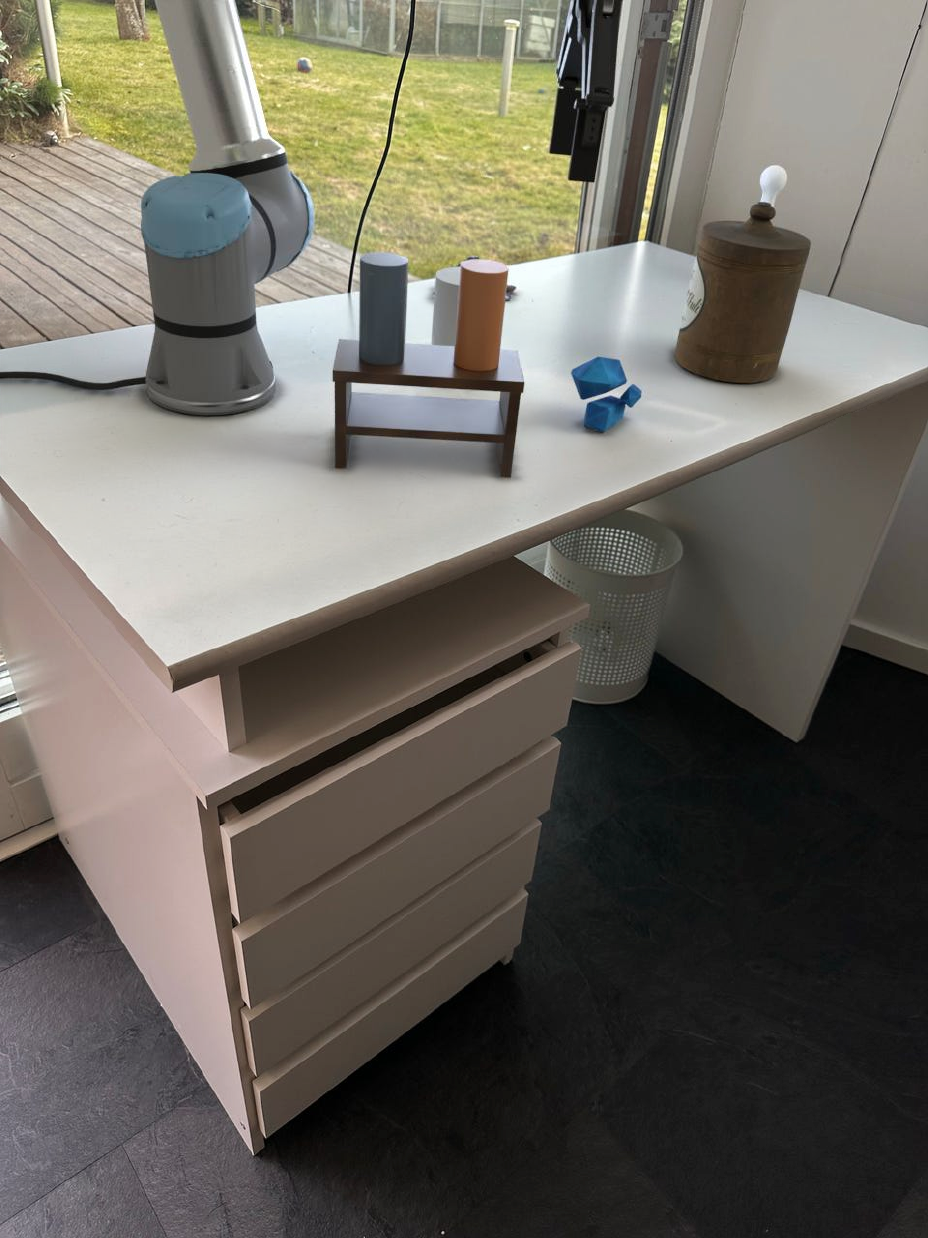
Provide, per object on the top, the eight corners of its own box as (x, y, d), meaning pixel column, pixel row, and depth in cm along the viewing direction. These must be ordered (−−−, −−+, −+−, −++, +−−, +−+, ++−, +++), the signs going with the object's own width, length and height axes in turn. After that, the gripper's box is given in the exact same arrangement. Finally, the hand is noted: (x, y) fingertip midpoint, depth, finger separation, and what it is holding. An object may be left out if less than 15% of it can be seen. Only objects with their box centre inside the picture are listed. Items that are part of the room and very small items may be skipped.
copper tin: (454, 369, 95) (461, 271, 89) (452, 352, 99) (459, 257, 93) (500, 372, 96) (510, 274, 90) (497, 355, 100) (506, 260, 94)
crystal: (662, 364, 113) (621, 368, 103) (641, 432, 117) (600, 442, 107) (609, 348, 116) (565, 350, 107) (590, 414, 120) (546, 422, 110)
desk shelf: (333, 467, 99) (332, 370, 93) (339, 431, 106) (338, 338, 100) (512, 477, 101) (524, 382, 94) (506, 441, 108) (517, 350, 101)
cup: (483, 381, 122) (492, 289, 115) (424, 372, 123) (429, 280, 116) (494, 359, 128) (503, 272, 121) (437, 351, 129) (443, 263, 122)
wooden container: (693, 338, 142) (728, 184, 129) (787, 362, 137) (834, 205, 124) (658, 365, 132) (693, 201, 119) (759, 393, 126) (807, 224, 113)
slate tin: (357, 363, 95) (358, 264, 89) (360, 347, 98) (361, 250, 92) (404, 366, 95) (408, 267, 89) (404, 349, 99) (408, 253, 93)
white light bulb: (778, 291, 166) (812, 171, 154) (755, 297, 162) (787, 174, 150) (728, 274, 172) (756, 157, 161) (704, 280, 168) (731, 160, 156)
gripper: (677, -72, 78) (627, 196, 91) (618, -73, 98) (584, 147, 110) (591, -82, 77) (553, 190, 90) (548, -82, 97) (522, 141, 110)
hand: (570, 166), depth 100 cm, fingers open, 13 cm apart
